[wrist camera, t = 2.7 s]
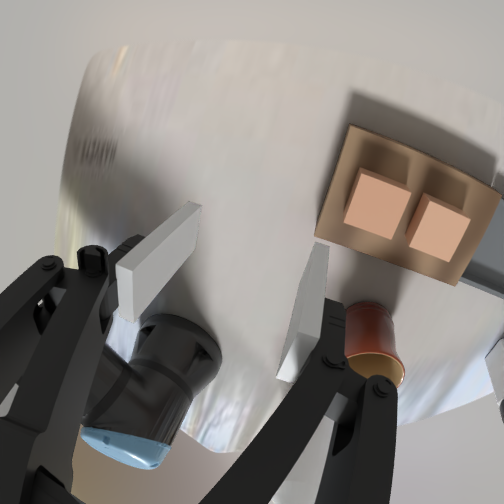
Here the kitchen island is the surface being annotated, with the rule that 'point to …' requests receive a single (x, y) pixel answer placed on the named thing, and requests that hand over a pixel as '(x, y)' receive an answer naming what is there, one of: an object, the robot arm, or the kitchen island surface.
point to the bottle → (307, 469)
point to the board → (418, 181)
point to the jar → (497, 372)
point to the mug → (372, 342)
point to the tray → (489, 258)
